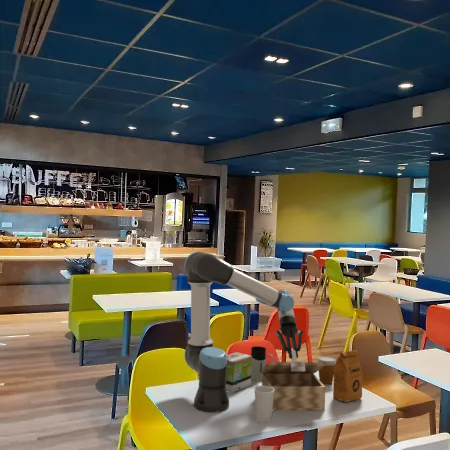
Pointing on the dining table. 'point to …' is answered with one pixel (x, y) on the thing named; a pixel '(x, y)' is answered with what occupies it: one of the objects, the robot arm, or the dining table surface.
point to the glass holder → (258, 361)
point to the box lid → (293, 367)
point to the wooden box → (295, 391)
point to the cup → (264, 403)
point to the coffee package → (347, 377)
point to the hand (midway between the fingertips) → (295, 364)
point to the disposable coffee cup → (327, 369)
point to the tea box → (238, 371)
